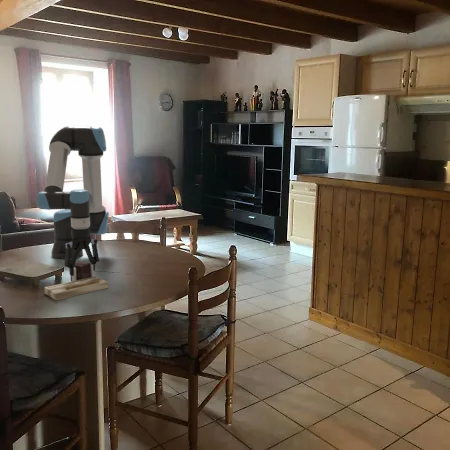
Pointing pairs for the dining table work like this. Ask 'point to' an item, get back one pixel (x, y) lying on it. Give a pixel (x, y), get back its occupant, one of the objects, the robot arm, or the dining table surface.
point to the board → (75, 288)
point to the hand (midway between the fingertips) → (82, 280)
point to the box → (82, 270)
